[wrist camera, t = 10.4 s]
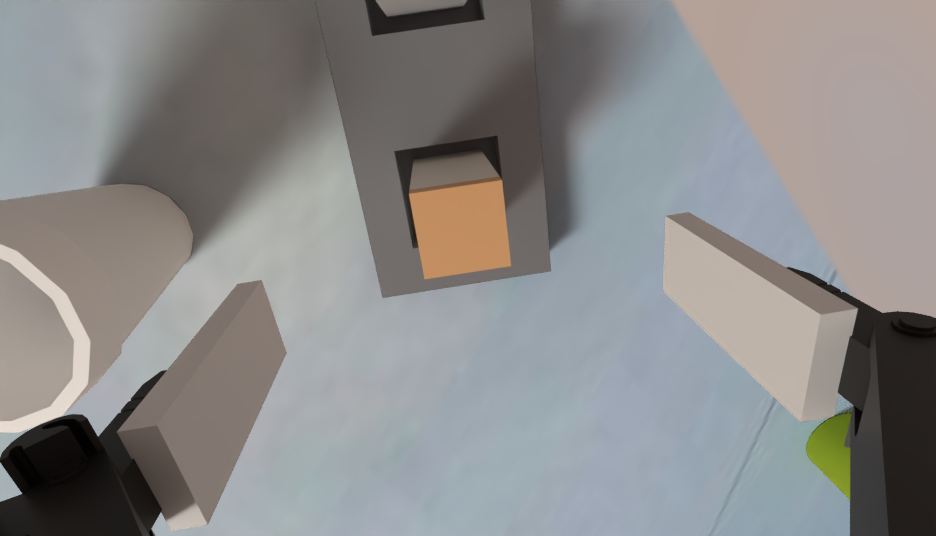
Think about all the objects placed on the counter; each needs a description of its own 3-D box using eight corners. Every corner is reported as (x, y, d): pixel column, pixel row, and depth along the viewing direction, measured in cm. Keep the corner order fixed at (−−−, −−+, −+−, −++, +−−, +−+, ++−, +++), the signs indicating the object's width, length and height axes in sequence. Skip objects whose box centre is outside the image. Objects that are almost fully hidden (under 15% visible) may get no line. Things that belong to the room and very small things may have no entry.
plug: (424, 223, 31) (424, 279, 23) (413, 159, 30) (409, 193, 21) (488, 214, 31) (511, 265, 23) (480, 149, 30) (502, 179, 22)
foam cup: (241, 207, 31) (122, 295, 19) (190, 320, 33) (57, 461, 21) (82, 128, 28) (-173, 171, 16) (40, 257, 31) (-205, 377, 19)
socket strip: (289, -152, 24) (274, -176, 22) (506, -182, 24) (514, -208, 22) (385, 282, 33) (382, 297, 31) (542, 257, 34) (550, 271, 31)
